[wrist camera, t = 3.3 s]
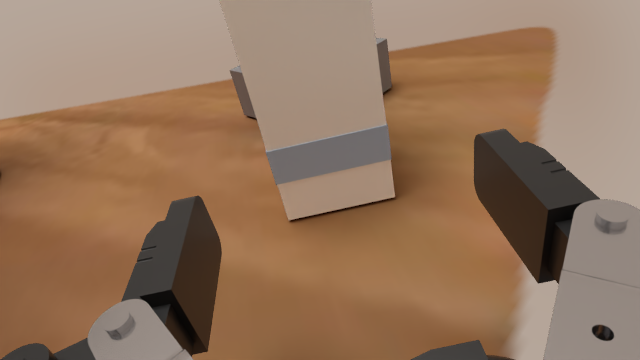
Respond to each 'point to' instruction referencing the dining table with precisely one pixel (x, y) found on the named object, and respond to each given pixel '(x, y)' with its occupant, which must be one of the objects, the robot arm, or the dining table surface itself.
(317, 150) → the milk carton
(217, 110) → the dining table surface
